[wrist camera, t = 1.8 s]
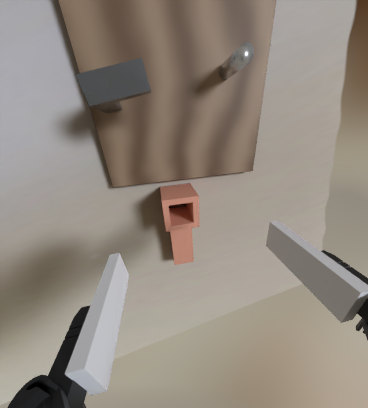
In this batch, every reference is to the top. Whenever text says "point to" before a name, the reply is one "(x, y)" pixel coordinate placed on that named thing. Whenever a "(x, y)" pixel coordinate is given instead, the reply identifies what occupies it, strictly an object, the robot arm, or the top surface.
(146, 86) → the bracket
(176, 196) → the link
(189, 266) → the top surface
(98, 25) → the board
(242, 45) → the peg
